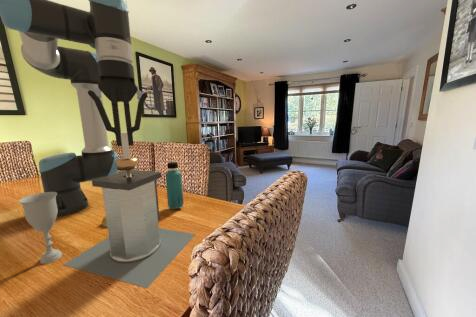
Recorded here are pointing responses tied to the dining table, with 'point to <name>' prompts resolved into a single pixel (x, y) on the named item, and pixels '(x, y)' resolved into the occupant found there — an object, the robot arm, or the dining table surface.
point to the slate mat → (135, 272)
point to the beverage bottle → (174, 186)
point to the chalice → (42, 219)
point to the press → (131, 214)
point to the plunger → (127, 165)
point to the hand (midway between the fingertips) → (126, 158)
